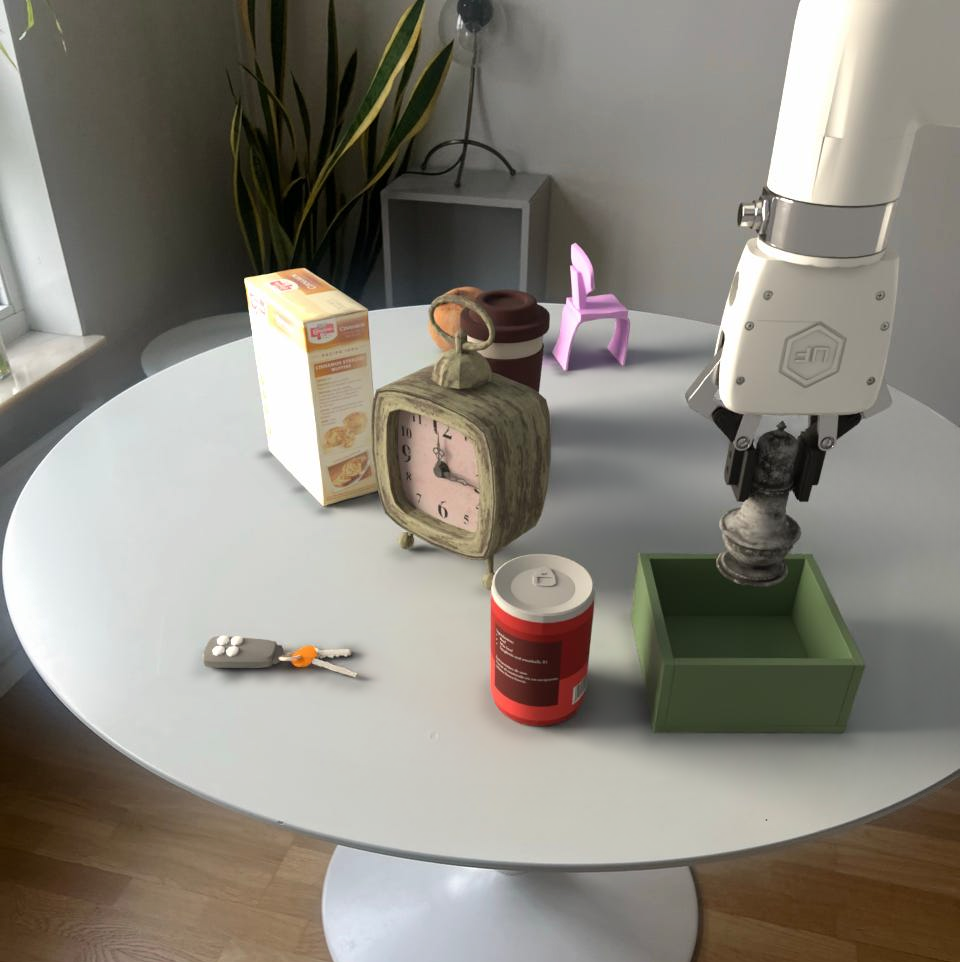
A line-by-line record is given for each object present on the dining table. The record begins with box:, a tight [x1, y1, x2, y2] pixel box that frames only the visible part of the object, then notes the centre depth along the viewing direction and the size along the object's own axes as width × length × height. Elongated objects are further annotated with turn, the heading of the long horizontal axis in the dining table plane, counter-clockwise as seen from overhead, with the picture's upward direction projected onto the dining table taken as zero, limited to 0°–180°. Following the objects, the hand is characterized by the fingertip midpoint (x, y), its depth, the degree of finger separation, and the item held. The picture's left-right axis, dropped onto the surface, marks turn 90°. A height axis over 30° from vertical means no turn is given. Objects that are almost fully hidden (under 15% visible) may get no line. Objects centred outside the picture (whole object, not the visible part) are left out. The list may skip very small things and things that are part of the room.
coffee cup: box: [460, 289, 551, 394], centre depth 110 cm, size 10×10×15 cm
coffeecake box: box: [244, 267, 378, 507], centre depth 100 cm, size 15×7×20 cm, turn 32°
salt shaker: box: [716, 420, 802, 587], centre depth 69 cm, size 6×6×12 cm
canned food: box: [489, 553, 596, 727], centre depth 74 cm, size 8×8×11 cm
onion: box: [428, 286, 485, 353], centre depth 129 cm, size 10×9×10 cm
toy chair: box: [552, 242, 631, 372], centre depth 126 cm, size 8×9×15 cm
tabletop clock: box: [371, 293, 552, 591], centre depth 85 cm, size 14×9×25 cm, turn 50°
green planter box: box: [630, 552, 866, 734], centre depth 77 cm, size 15×15×7 cm
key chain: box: [202, 635, 359, 678], centre depth 80 cm, size 13×4×2 cm, turn 86°
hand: (768, 490), depth 69 cm, fingers closed on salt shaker, 3 cm apart
